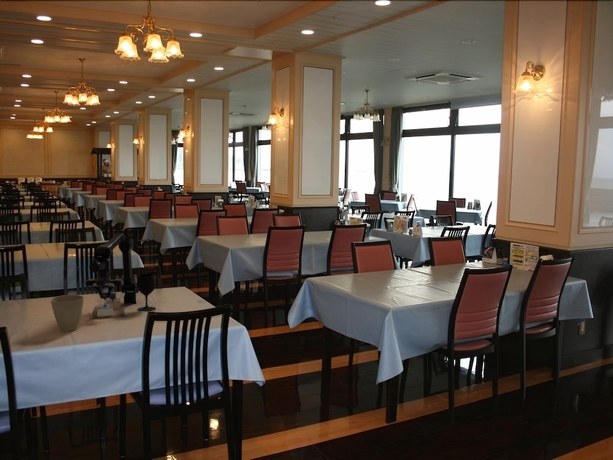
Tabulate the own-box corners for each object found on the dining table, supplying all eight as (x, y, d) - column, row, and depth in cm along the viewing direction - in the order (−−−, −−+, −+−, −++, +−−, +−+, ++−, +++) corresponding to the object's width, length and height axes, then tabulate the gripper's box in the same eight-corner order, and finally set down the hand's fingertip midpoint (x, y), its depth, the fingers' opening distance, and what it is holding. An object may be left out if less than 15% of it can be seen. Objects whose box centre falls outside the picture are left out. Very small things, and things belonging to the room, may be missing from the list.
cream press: (113, 311, 308) (112, 304, 307) (113, 315, 300) (113, 307, 300) (97, 312, 305) (97, 305, 305) (97, 316, 298) (97, 308, 297)
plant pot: (51, 327, 277) (50, 296, 276) (84, 324, 283) (83, 293, 282) (51, 335, 264) (50, 302, 262) (85, 332, 270) (84, 300, 268)
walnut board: (123, 305, 325) (123, 304, 325) (125, 316, 300) (125, 315, 300) (94, 307, 319) (94, 306, 319) (93, 318, 295) (93, 317, 295)
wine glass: (133, 310, 314) (132, 275, 312) (146, 306, 324) (145, 272, 322) (146, 312, 310) (146, 277, 308) (160, 308, 319) (159, 274, 317)
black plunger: (108, 306, 304) (108, 291, 304) (108, 307, 301) (108, 293, 300) (101, 306, 303) (101, 292, 302) (101, 307, 300) (101, 293, 299)
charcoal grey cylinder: (116, 305, 319) (115, 292, 318) (116, 307, 316) (115, 293, 315) (109, 306, 318) (109, 292, 317) (109, 307, 315) (109, 294, 314)
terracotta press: (120, 305, 322) (120, 298, 322) (120, 308, 315) (120, 301, 314) (105, 306, 319) (105, 299, 319) (105, 309, 312) (105, 302, 312)
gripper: (81, 272, 292) (82, 301, 293) (117, 272, 293) (118, 301, 294) (88, 268, 303) (89, 296, 304) (123, 268, 304) (124, 296, 305)
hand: (105, 298), depth 302 cm, fingers closed on black plunger, 4 cm apart
